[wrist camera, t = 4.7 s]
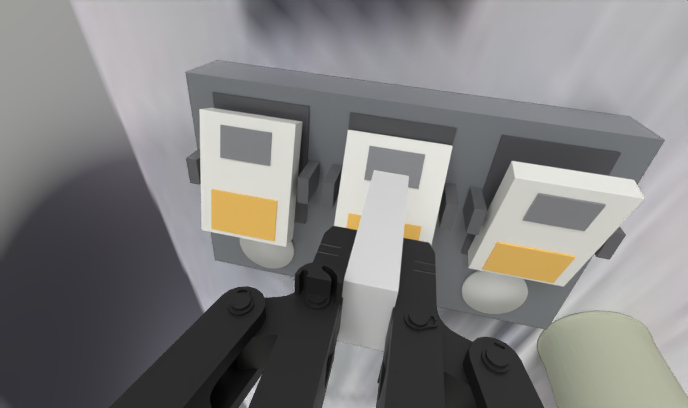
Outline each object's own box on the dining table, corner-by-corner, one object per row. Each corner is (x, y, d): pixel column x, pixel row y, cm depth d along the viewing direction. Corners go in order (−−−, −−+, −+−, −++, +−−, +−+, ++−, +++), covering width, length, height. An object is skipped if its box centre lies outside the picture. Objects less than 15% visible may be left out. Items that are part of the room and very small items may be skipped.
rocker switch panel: (216, 60, 26) (157, 82, 20) (629, 116, 22) (698, 162, 17) (235, 233, 34) (197, 282, 29) (534, 292, 31) (557, 361, 25)
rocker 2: (511, 160, 19) (515, 179, 18) (634, 179, 18) (645, 200, 17) (467, 251, 24) (468, 269, 23) (559, 268, 24) (564, 288, 23)
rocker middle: (351, 129, 22) (347, 129, 20) (449, 145, 21) (452, 146, 20) (333, 250, 24) (328, 258, 22) (423, 268, 23) (424, 277, 21)
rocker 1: (211, 107, 22) (198, 109, 21) (302, 121, 22) (294, 124, 20) (212, 222, 25) (200, 230, 24) (292, 238, 24) (285, 247, 23)
